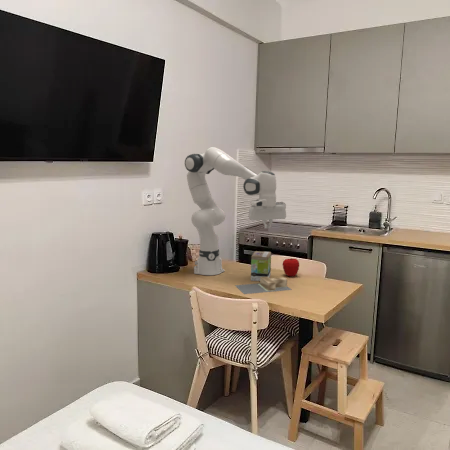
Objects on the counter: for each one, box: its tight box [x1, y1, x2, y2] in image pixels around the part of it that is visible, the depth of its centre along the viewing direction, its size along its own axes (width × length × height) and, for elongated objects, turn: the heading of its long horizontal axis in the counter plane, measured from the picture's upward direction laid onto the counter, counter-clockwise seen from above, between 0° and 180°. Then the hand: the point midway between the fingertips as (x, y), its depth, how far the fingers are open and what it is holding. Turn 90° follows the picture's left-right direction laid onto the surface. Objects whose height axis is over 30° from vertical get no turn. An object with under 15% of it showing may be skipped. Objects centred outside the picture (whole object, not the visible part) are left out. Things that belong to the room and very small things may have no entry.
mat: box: [234, 282, 292, 295], centre depth 221 cm, size 16×26×1 cm, turn 106°
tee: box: [259, 277, 288, 291], centre depth 222 cm, size 12×12×4 cm
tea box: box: [250, 250, 272, 282], centre depth 239 cm, size 15×10×15 cm, turn 168°
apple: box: [282, 258, 300, 277], centre depth 246 cm, size 10×10×11 cm
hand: (267, 228), depth 224 cm, fingers closed
